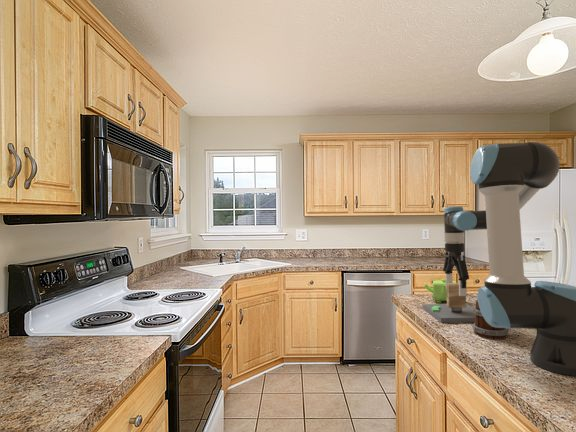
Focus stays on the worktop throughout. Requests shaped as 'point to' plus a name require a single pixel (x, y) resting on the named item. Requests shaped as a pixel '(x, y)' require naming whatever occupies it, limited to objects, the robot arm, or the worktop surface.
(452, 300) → the peg key
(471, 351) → the worktop surface
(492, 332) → the mug
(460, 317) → the board
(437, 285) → the kettle
